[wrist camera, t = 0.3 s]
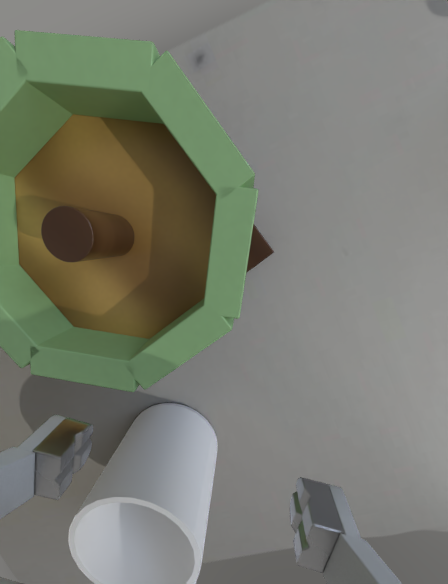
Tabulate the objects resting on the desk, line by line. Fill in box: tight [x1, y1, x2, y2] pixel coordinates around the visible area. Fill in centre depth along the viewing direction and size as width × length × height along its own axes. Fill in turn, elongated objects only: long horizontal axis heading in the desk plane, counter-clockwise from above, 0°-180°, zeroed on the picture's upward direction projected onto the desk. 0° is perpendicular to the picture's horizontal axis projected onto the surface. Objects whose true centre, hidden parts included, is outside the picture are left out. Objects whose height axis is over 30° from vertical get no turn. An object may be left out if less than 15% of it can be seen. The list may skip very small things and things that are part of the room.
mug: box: [68, 403, 218, 584], centre depth 23 cm, size 13×10×10 cm
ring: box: [0, 30, 258, 392], centre depth 13 cm, size 16×16×3 cm
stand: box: [15, 114, 274, 339], centre depth 17 cm, size 14×14×13 cm
